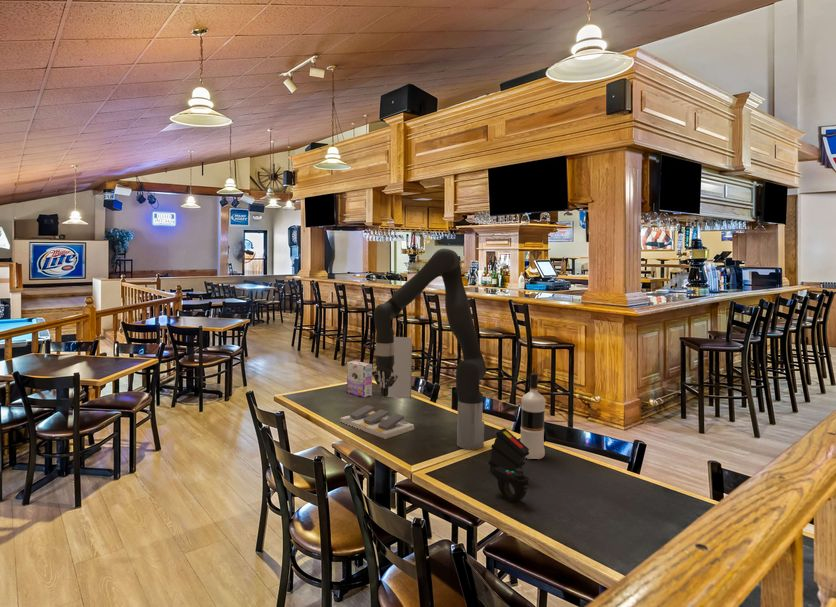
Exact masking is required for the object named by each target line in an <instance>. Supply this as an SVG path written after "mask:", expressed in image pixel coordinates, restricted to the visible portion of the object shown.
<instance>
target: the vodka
mask: <svg viewBox="0 0 836 607" xmlns="http://www.w3.org/2000/svg"><path fill="white" fill-rule="evenodd" d="M529 381H530V382H529V384H530V385H529V386H530V387H529V391H528V392H527V393H525V394H524V395H523V396H521V400H520V401H521V406H520V408H521V419H520V420H521V421H520V422H521V423H520V439H519V441H520V442H522V443H523V444H524V445H525V446H526V447H527V448H528V449H529V451H528V452H529V455H527V456H526V457H525V459H526V458H527V460H530V459H538V460H541V459H543V458H544V457H545V455H546V449H545V443H544V442H545V441H544V440H545V439H544V436H545V411H546V399H545V397H544V395H542V394H541V393H540V392H538V385H539V384H538V383H539V374H538V373H533V372H532V373H530V380H529Z"/></svg>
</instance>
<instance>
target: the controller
mask: <svg viewBox="0 0 836 607" xmlns="http://www.w3.org/2000/svg"><path fill="white" fill-rule="evenodd" d="M516 471H517V473H516V472H514V471H511V470H508V469H506V468H504V467H501V466H497V467H495V468H493V470H492V472H491V475H492V476H493V477H494V478H495V479H496V480H497V486H498V487H497V488H498V490H499V492H500V494H501V495H502V496H503V498H505V499H506V500H507V499H508V501H509V500H510V501H509V502H519V501H520V500H522V499H524V498H525V497H526V494H527V491H528V490H529V489H528V487H529V481H530V477H528V476H526V475H525V474H524V470H523V468H522V469H521V468H517V469H516ZM521 472H523V474H522V473H521ZM510 485H511V486H512V487H513V490H514V493H513V492H512V490H511V488H510Z"/></svg>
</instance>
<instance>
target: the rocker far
mask: <svg viewBox="0 0 836 607" xmlns="http://www.w3.org/2000/svg"><path fill="white" fill-rule="evenodd" d="M375 410H376V409H375V407H374V406H372V405H369V404H366V405H364V406H362V407H359V408H358V409H356V410H354V411H352V412H351V413H349V415H350V417H352V418H355V419H359V418H361V417H363V416H365V415H366V414H368V413H370V412H372V411H374V412H375ZM349 415H348V416H349Z"/></svg>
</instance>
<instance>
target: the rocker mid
mask: <svg viewBox="0 0 836 607" xmlns="http://www.w3.org/2000/svg"><path fill="white" fill-rule="evenodd" d="M374 412H375V413H373V414H371V415H369V416H368V417H366V418H364V419H363V421H364V422H366V423H369V424H373V423H375V422H377V421H378V420H380V419H382V418H384V417H385V416H389V415H390V412H389V411H387V410H385V409H381V408H380V409H378V410H376V411H374Z"/></svg>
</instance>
